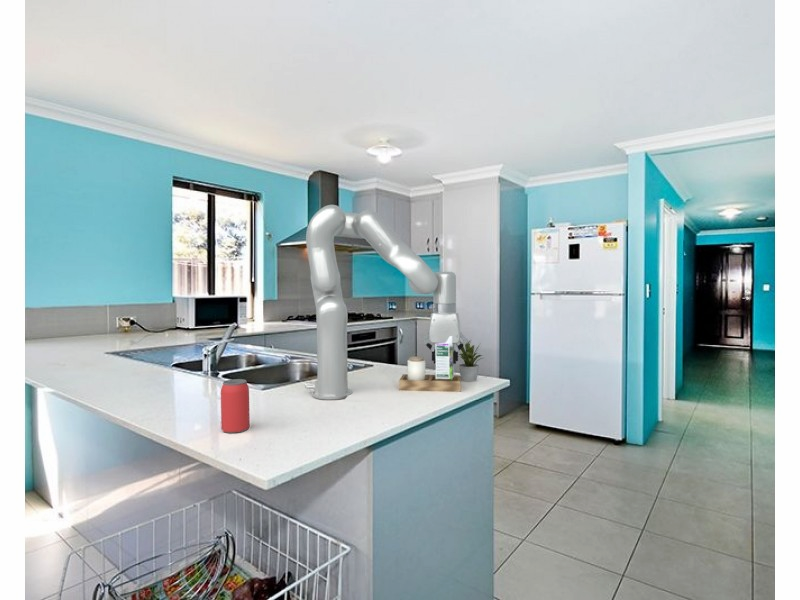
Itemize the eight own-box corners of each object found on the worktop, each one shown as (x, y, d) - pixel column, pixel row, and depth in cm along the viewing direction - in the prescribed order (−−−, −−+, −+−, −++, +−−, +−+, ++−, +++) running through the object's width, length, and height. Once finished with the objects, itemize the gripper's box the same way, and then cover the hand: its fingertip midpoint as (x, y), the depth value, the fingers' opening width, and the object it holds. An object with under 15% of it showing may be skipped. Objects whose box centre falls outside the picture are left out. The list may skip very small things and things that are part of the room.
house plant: (437, 380, 172) (437, 336, 171) (466, 376, 180) (466, 333, 179) (463, 388, 160) (463, 340, 159) (493, 383, 168) (493, 337, 167)
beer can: (225, 426, 119) (224, 378, 119) (252, 425, 120) (251, 378, 119) (217, 434, 112) (216, 384, 112) (246, 433, 113) (245, 383, 113)
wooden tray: (398, 392, 154) (398, 380, 154) (403, 385, 164) (403, 374, 164) (460, 394, 151) (460, 381, 151) (460, 387, 162) (460, 375, 162)
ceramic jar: (406, 388, 156) (406, 358, 156) (408, 384, 162) (408, 355, 162) (424, 389, 155) (424, 359, 155) (426, 385, 161) (426, 356, 161)
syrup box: (435, 379, 155) (434, 335, 154) (437, 375, 161) (437, 333, 160) (452, 379, 154) (452, 335, 153) (454, 376, 159) (454, 333, 159)
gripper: (417, 309, 154) (418, 364, 154) (471, 309, 151) (471, 365, 152) (419, 308, 161) (420, 360, 162) (470, 308, 159) (471, 361, 160)
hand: (444, 362), depth 157 cm, fingers closed on syrup box, 5 cm apart
